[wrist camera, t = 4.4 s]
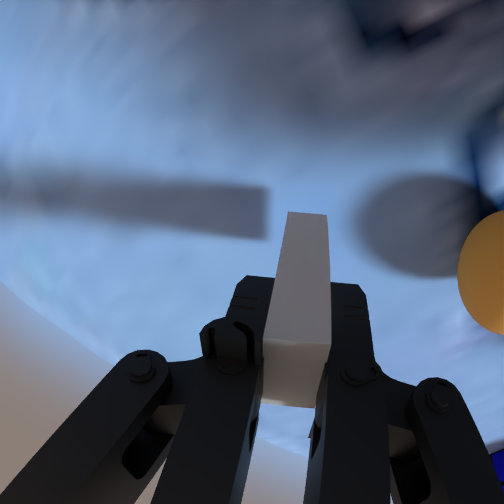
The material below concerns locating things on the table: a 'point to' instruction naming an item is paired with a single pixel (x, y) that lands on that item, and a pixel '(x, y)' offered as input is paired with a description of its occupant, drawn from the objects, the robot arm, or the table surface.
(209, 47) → the table surface
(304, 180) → the table surface
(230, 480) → the robot arm
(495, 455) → the puzzle cube
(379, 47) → the table surface
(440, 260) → the table surface
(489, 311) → the ball
